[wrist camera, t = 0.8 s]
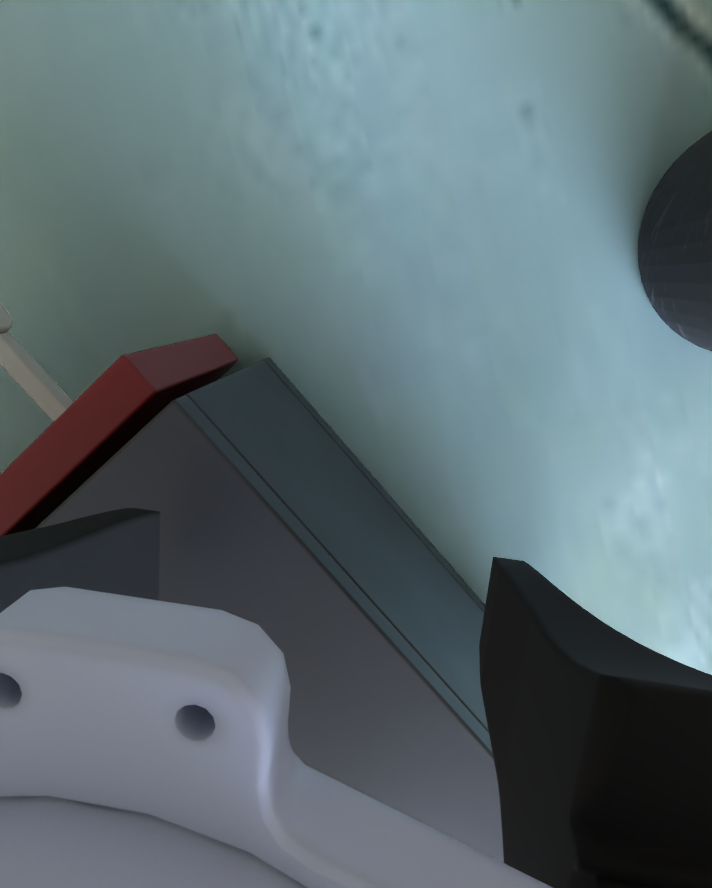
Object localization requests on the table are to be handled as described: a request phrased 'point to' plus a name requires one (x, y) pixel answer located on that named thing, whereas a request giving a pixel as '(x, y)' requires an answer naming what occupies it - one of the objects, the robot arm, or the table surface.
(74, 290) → the table surface
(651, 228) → the travel mug
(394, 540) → the charcoal grey case
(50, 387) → the drawer
